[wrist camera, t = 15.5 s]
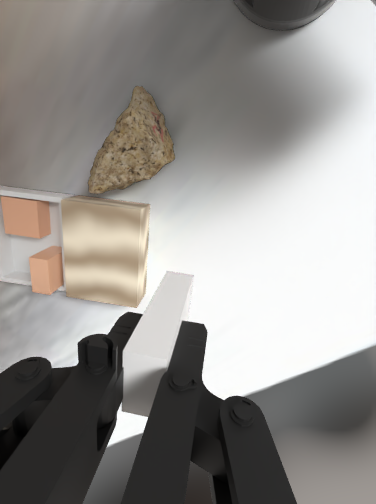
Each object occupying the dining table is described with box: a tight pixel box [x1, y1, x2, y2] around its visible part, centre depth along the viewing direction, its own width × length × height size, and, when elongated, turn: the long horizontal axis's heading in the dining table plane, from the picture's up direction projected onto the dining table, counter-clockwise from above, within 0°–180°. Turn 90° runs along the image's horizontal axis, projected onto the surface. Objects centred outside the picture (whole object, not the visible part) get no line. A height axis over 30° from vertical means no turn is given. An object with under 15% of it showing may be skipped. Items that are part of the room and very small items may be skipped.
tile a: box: [1, 196, 51, 239], centre depth 44 cm, size 6×6×3 cm
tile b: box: [29, 246, 64, 295], centre depth 45 cm, size 6×6×3 cm
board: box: [61, 195, 150, 308], centre depth 44 cm, size 16×12×5 cm
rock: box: [88, 86, 175, 194], centre depth 37 cm, size 11×12×10 cm
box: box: [0, 186, 76, 291], centre depth 46 cm, size 16×13×4 cm
